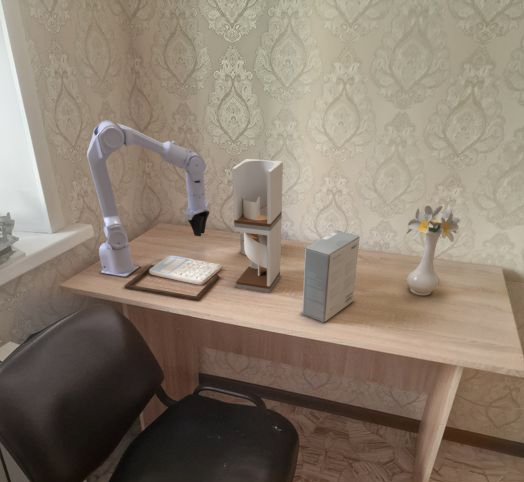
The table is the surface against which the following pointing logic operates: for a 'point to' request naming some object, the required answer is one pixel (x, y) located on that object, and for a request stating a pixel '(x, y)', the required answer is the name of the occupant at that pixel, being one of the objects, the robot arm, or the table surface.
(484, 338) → the table surface
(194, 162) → the robot arm
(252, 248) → the white shelf tower
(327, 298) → the hard drive box
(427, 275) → the flower vase
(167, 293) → the tray
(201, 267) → the calculator
